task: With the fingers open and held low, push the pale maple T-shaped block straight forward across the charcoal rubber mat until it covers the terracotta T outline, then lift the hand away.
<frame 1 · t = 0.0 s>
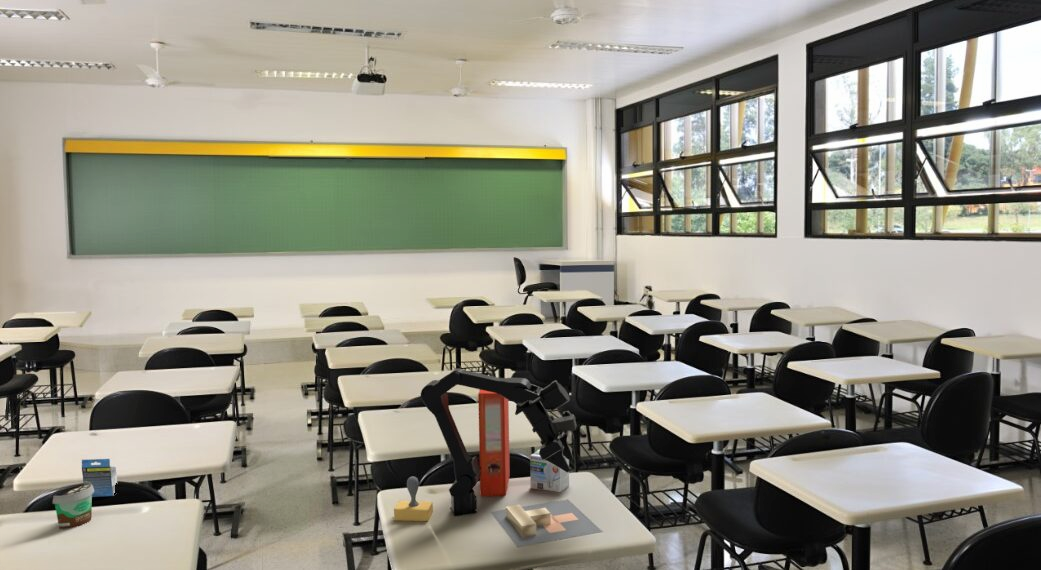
hand: (570, 465, 211), 15 cm above the table, tool tilted 35°, fingers open, 9 cm apart
rubber stamp: (413, 518, 215), on the table
file binder: (496, 486, 237), on the table
mat: (544, 523, 209), on the table
food container: (81, 523, 217), on the table
label tape box: (101, 495, 238), on the table
t block: (520, 525, 207), point 1 cm above the table, touching mat
light bulb box: (550, 488, 235), on the table
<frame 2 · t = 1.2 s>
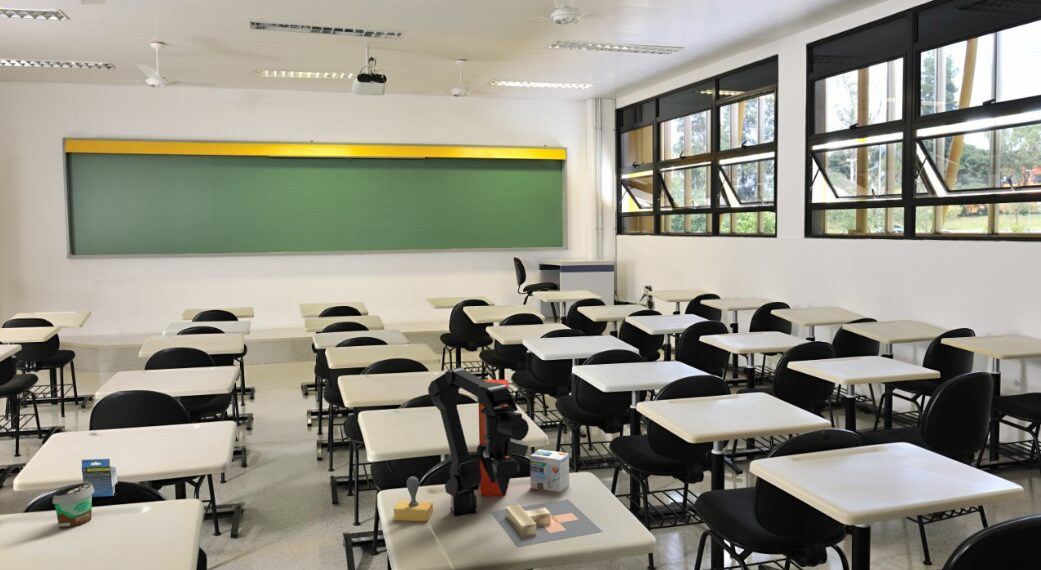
hand: (498, 488, 203), 12 cm above the table, tool pointing down, fingers open, 9 cm apart
nothing on the table moved.
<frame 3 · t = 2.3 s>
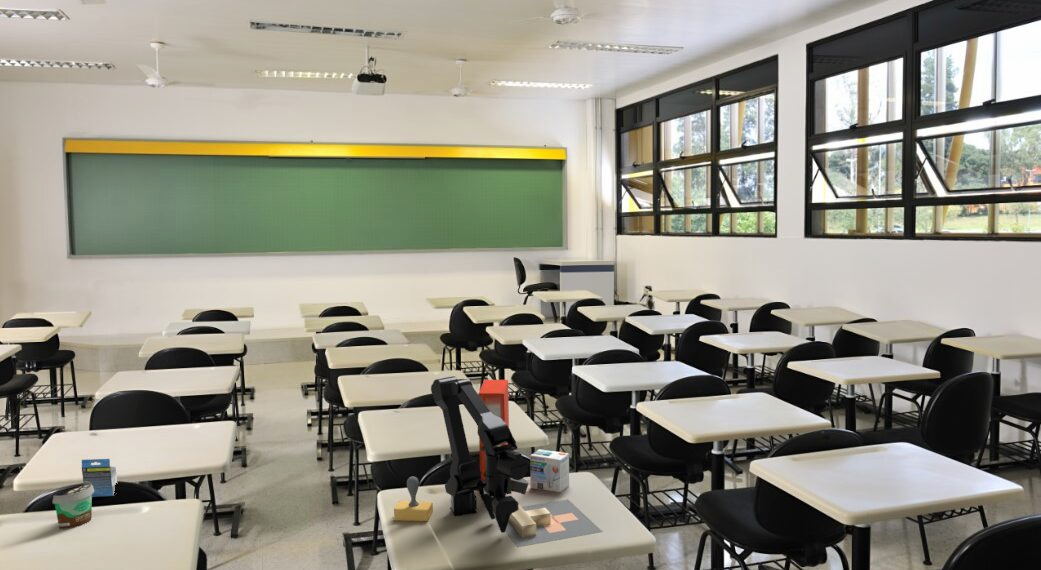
hand: (497, 525, 204), 2 cm above the table, tool pointing down, fingers open, 9 cm apart
nothing on the table moved.
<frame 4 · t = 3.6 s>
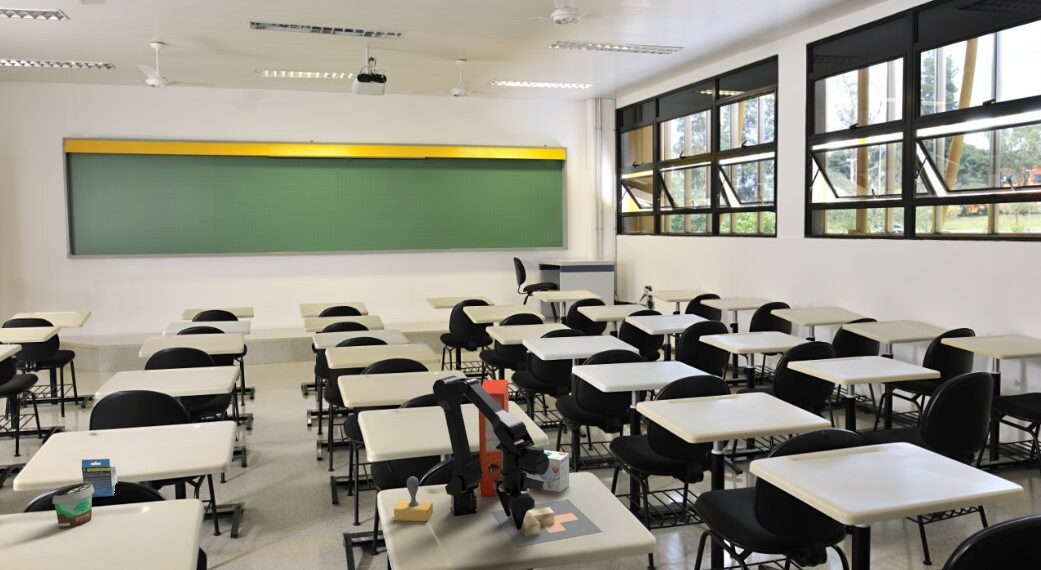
hand: (513, 522, 206), 2 cm above the table, tool pointing down
t block: (524, 524, 207), point 1 cm above the table, touching gripper
everything else where it was.
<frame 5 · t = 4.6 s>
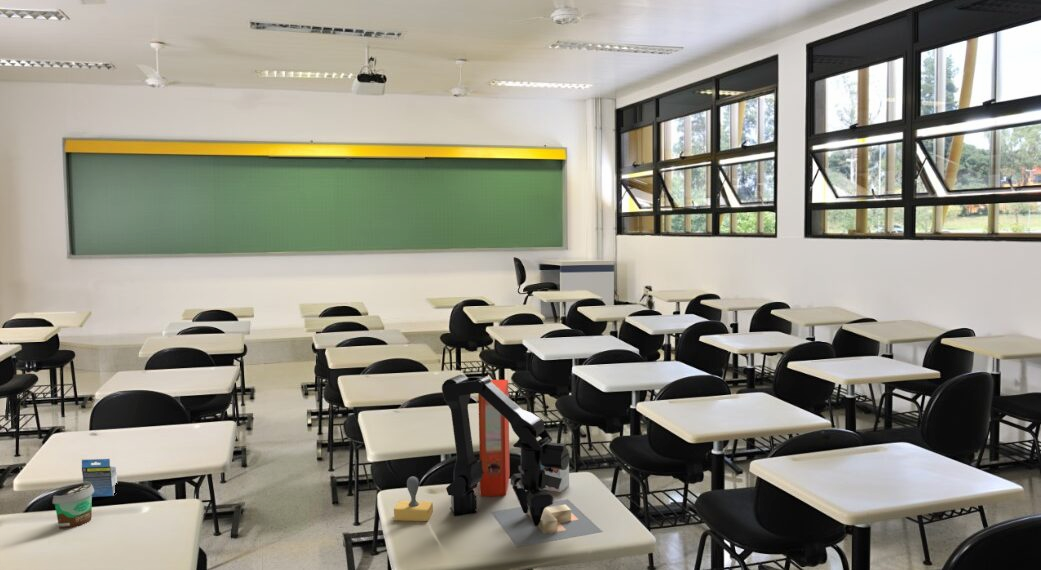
hand: (530, 519, 208), 2 cm above the table, tool pointing down
t block: (541, 521, 209), point 1 cm above the table, touching gripper, mat
everything else where it was.
when the fingers open (2 cm above the table, at t = 5.8 s): t block stays where it is, resting on mat.
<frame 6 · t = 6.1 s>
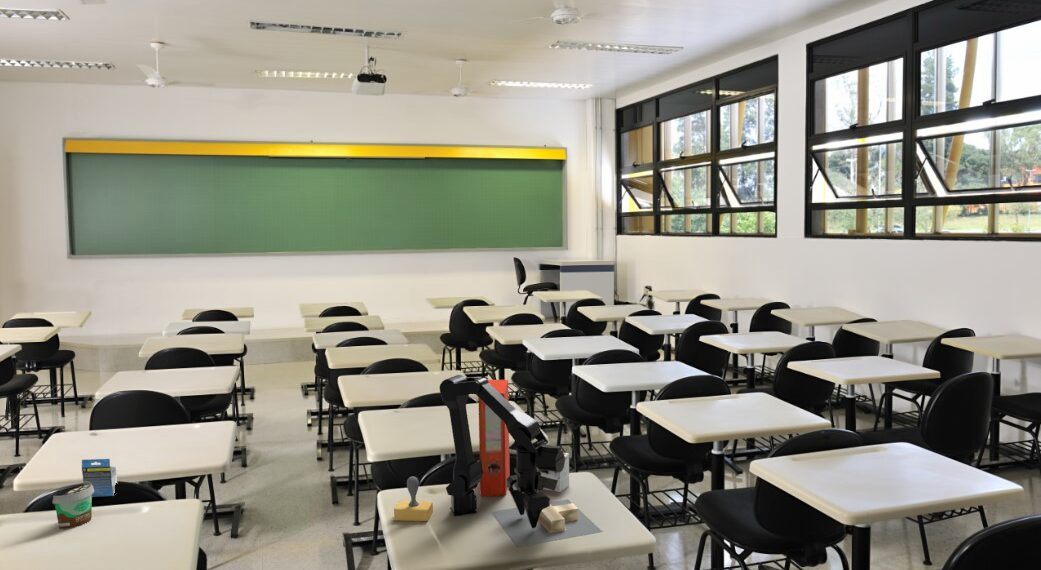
hand: (527, 521, 207), 1 cm above the table, tool pointing down, fingers open, 9 cm apart
t block: (548, 520, 209), point 1 cm above the table, touching mat
everything else where it was.
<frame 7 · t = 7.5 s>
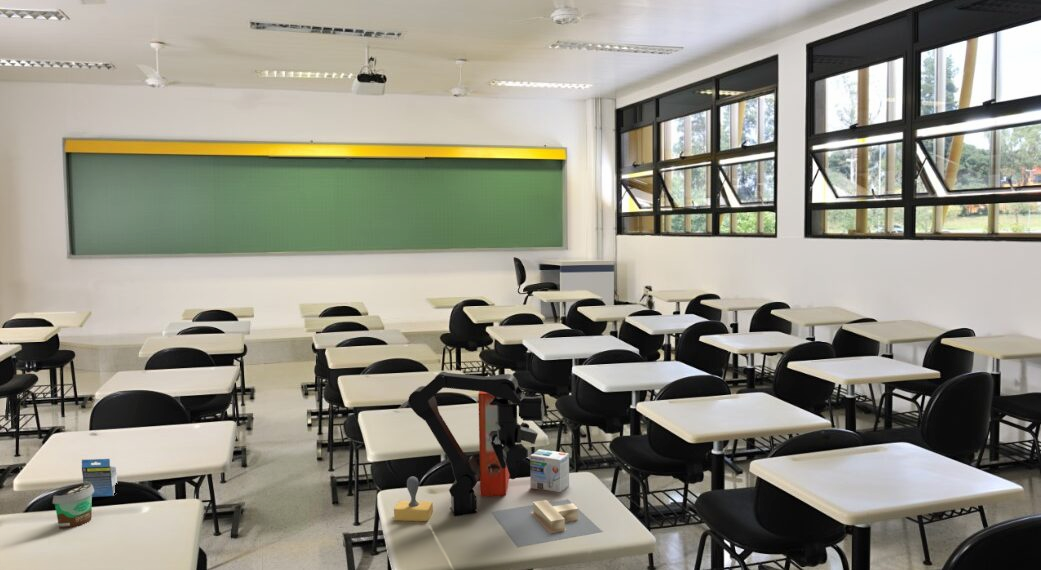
hand: (508, 473, 215), 12 cm above the table, tool pointing down, fingers open, 9 cm apart
nothing on the table moved.
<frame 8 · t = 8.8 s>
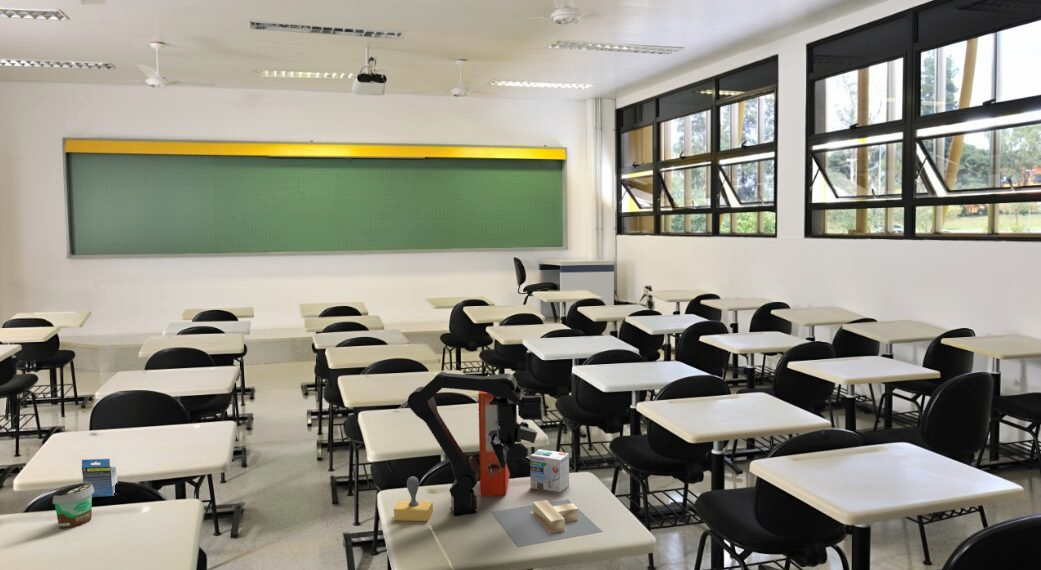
hand: (508, 472, 215), 12 cm above the table, tool pointing down, fingers open, 9 cm apart
nothing on the table moved.
at the end: t block 0.2 cm from the target spot, point 0.5 cm above the table; t block tilted 0°; t block moved 8.2 cm from its start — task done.
